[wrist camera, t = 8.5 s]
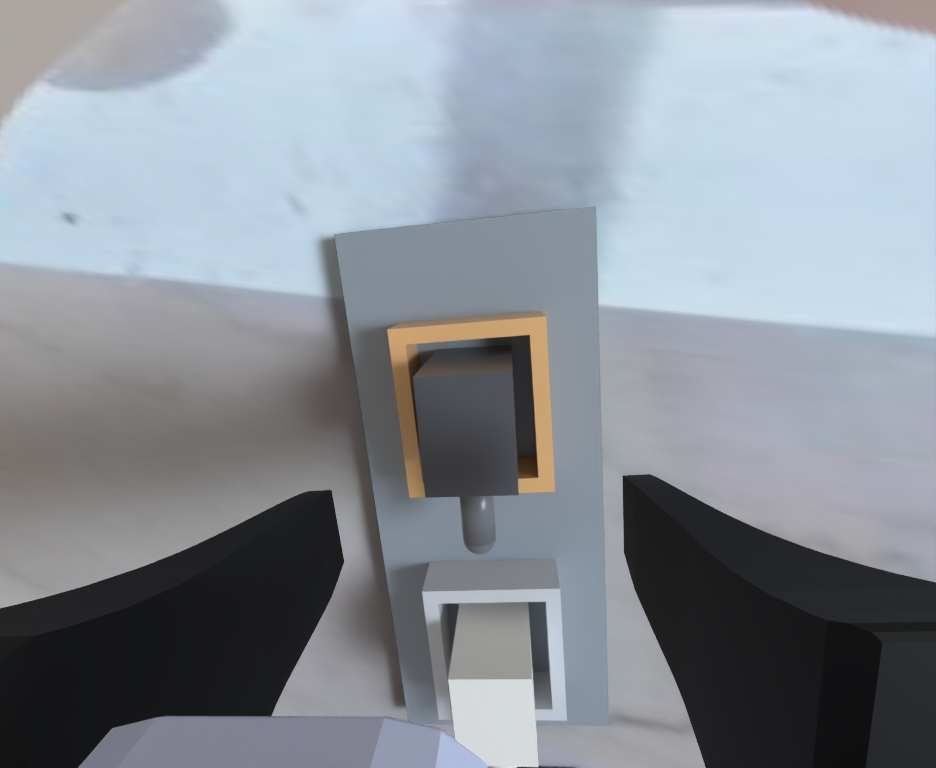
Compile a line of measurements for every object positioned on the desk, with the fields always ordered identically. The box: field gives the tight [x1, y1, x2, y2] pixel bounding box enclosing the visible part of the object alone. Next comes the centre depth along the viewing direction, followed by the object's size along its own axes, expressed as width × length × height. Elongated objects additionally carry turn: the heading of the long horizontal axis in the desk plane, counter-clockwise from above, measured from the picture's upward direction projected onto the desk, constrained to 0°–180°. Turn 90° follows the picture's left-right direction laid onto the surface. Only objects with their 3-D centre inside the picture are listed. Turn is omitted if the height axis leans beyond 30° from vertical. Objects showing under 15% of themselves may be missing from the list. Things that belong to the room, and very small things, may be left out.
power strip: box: [334, 207, 609, 768], centre depth 19 cm, size 24×10×6 cm, turn 5°
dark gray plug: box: [413, 345, 519, 555], centre depth 17 cm, size 7×3×5 cm, turn 4°
